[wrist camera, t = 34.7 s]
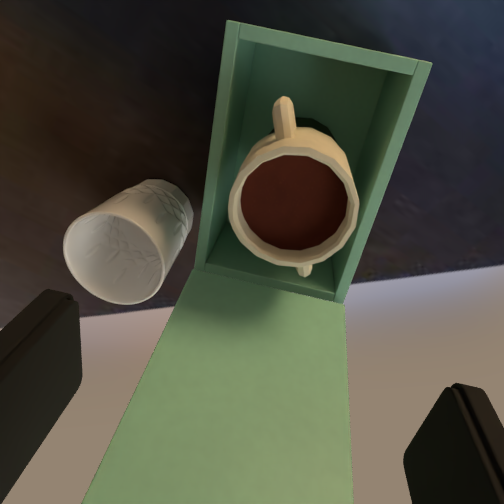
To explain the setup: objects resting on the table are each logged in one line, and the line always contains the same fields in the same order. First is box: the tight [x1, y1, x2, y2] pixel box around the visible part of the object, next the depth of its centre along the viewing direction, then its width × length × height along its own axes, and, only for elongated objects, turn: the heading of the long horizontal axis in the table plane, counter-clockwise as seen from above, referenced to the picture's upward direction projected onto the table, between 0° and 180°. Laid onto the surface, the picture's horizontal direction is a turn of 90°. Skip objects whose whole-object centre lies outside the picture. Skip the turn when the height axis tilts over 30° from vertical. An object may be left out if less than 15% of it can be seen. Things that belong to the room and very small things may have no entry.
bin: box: [194, 20, 432, 304], centre depth 29 cm, size 17×12×9 cm
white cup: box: [63, 179, 193, 304], centre depth 33 cm, size 8×8×10 cm
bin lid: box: [81, 269, 354, 504], centre depth 23 cm, size 17×12×5 cm
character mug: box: [228, 96, 359, 277], centre depth 26 cm, size 11×7×13 cm, turn 11°
